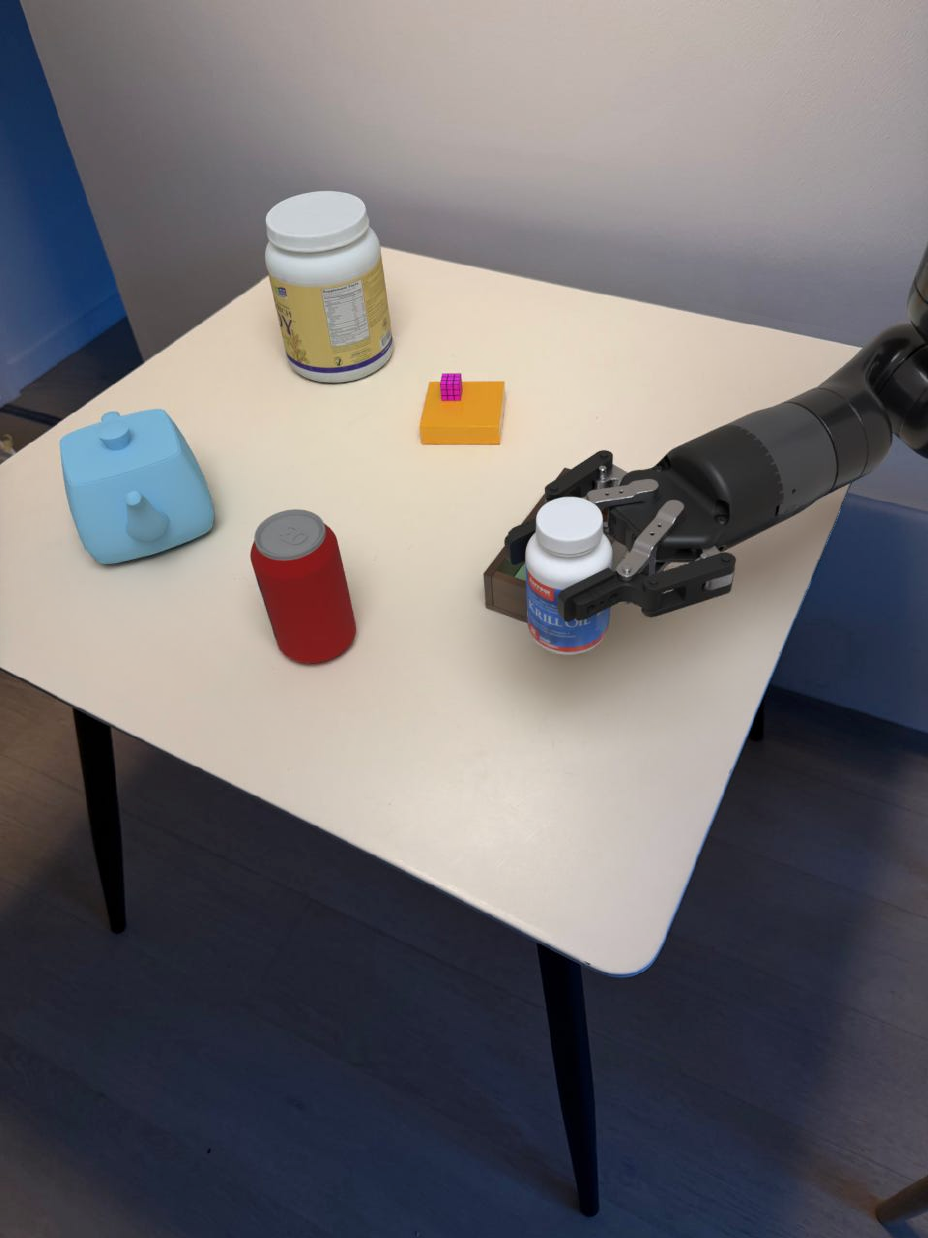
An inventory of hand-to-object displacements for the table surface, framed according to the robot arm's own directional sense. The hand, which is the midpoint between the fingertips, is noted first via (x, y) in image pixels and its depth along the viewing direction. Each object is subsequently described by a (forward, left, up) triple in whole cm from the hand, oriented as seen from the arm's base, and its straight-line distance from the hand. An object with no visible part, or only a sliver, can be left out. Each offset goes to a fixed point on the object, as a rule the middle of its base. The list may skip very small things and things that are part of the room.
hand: (534, 578), depth 61 cm
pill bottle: (-1, -2, -6) cm, 7 cm away
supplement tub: (+45, -39, -18) cm, 62 cm away
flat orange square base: (+26, -34, -18) cm, 46 cm away
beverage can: (+22, -2, -18) cm, 28 cm away
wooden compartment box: (+7, -19, -18) cm, 27 cm away
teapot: (+44, -6, -18) cm, 47 cm away
